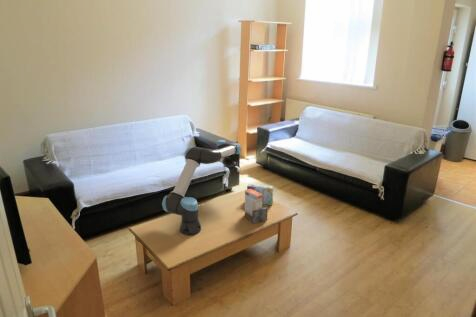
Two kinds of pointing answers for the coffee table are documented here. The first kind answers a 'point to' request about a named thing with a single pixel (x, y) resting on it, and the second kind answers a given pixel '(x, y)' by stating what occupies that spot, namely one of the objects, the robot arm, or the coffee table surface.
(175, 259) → the coffee table surface
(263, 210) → the bookend slot
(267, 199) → the snack box
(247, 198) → the cracker box
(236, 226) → the coffee table surface
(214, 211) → the coffee table surface
